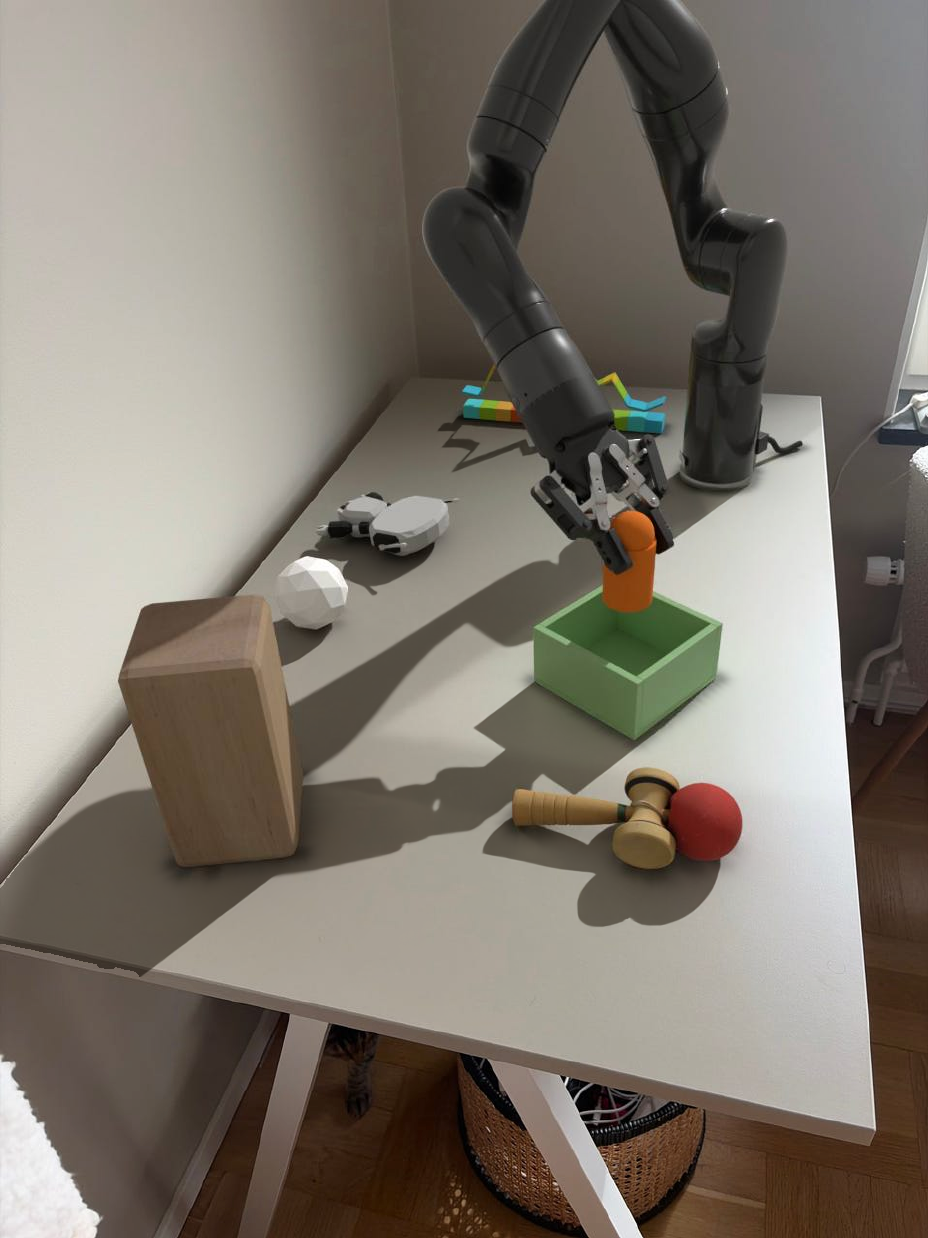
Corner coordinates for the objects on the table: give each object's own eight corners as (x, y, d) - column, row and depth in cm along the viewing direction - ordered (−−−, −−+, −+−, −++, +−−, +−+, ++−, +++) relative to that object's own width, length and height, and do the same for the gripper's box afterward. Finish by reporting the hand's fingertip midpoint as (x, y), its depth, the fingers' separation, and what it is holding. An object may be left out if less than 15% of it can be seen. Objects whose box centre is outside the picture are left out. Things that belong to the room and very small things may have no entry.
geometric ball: (310, 652, 107) (261, 622, 101) (304, 594, 112) (257, 562, 106) (365, 623, 104) (319, 591, 98) (358, 565, 109) (313, 530, 103)
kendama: (509, 873, 78) (742, 888, 73) (499, 807, 76) (739, 817, 70) (530, 817, 85) (744, 827, 80) (521, 754, 83) (742, 760, 77)
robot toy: (313, 554, 121) (414, 574, 113) (306, 521, 118) (408, 540, 111) (370, 510, 129) (467, 526, 122) (364, 479, 127) (463, 494, 119)
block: (192, 786, 87) (138, 599, 75) (305, 775, 87) (268, 587, 76) (175, 873, 79) (111, 678, 67) (299, 861, 79) (256, 665, 68)
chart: (664, 424, 145) (671, 324, 136) (661, 433, 142) (668, 331, 134) (469, 409, 153) (464, 314, 145) (463, 417, 151) (458, 321, 142)
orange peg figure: (623, 579, 93) (628, 496, 88) (662, 597, 90) (669, 512, 85) (591, 599, 91) (594, 514, 86) (630, 618, 88) (635, 532, 83)
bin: (616, 627, 103) (618, 574, 99) (716, 678, 95) (723, 623, 92) (533, 681, 96) (533, 627, 93) (634, 741, 89) (637, 684, 85)
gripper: (512, 395, 81) (610, 576, 80) (633, 352, 88) (726, 518, 87) (475, 435, 87) (565, 603, 86) (591, 392, 94) (676, 547, 93)
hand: (645, 559), depth 86 cm, fingers closed on orange peg figure, 4 cm apart
